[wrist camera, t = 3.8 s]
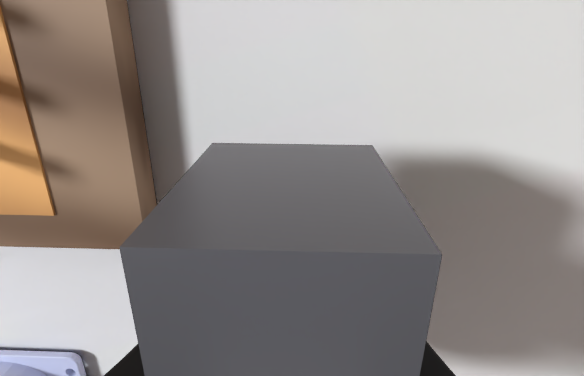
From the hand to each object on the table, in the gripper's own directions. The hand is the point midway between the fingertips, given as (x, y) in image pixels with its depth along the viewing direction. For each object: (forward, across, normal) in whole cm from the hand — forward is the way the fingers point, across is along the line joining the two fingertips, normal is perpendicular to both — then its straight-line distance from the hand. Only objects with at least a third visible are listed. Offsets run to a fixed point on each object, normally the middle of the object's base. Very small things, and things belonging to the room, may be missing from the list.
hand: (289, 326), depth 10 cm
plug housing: (+1, 0, 0) cm, 1 cm away
